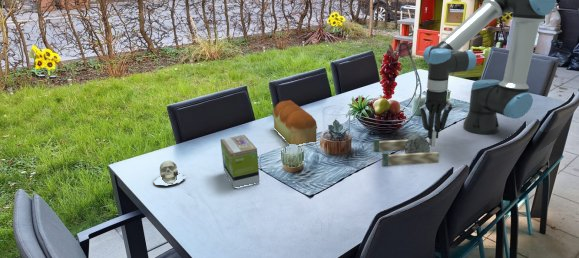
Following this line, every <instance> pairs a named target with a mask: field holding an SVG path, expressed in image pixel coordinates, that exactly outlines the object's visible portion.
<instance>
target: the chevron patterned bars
mask: <svg viewBox="0 0 579 258" xmlns="http://www.w3.org/2000/svg"><path fill="white" fill-rule="evenodd" d="M407 141H408V139H397V140H391V139H390V140H380V139H379V138H373V145H372V150H373V152H375V153H377V152H382V153H381V155H382V157H381V165H382V167H388V166H402V165H403V166H404V165H422V164H435V163H436V164H437V163H439V159H440V152H439V151H430V152H425V153H408V154H405V153H392V154H389V152H391V151H405V144H406V142H407Z"/></svg>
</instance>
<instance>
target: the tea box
mask: <svg viewBox="0 0 579 258" xmlns="http://www.w3.org/2000/svg"><path fill="white" fill-rule="evenodd" d="M220 147H221V155H222V165H223V172H224V171H225V173H226V175H227V176H226V175H225V176H226V178H227V177H228V178H229V179H228V178H227V179H228V181H229V180H230V181H229V182H231V183H232V184H231V183H230V184H231V186H232V185H233V186H234V187H240V186H244V185H249V184H254V183H259V182H260V181H261V180H260V171H259V170H260V169H259V159H258V158H259V157H258V148H257V147H256V145H255V144H253V142H252V140H251V141H250V139H249V138H248V137H247V136H246V135H245V134H240V135H237V136H231V137H226V138H221V139H220ZM225 173H224V174H225ZM259 184H260V183H259ZM233 186H232V187H233ZM234 187H233V188H234Z"/></svg>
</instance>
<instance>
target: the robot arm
mask: <svg viewBox="0 0 579 258" xmlns="http://www.w3.org/2000/svg"><path fill="white" fill-rule="evenodd" d="M556 3H557V0H483V1H482V4H481V6H480V7H479V8H477V9H476V10H475V11H474V12H473V13H471V14H470V16H469V17H467V18H466V19H465V20H464V21H463V22H461V23H460V24H459V25H458V26H457V27H456V28H454V29H453V30H452V31H451V32H450V33H449V34H448V35H447V36H446V37H445V38H443V39H442V40H441V41H440V42H439V43H438V44H436V45H428V47H426V48H425V49H424V51H423V56H422V57H423V60H424V61H425V63H426V64H428V68H427V69H428V70H427V81H426V88H427V89H426V94H425V95H426V97H425V102H424V104H423V105H422V106H418V110H419V112H420V116H421V121H422V127H423V129H424V130H425V131H427V138H428V139H429V140H428V142H429V147H430V148H435V147H436V144H437V143H436V141H437V139H439V133H440V132H441V130H445V126H446V123H447V120H448V118H449V115H450V113H451V111H452V110H453V106H451V105H450V104H448V102H447V97H448V96H447V95H448V91H447V90H448V87H449V78H450V74H454V73H460V72H467V71H472V70H473V69H474V68H475V67H476V65H477V60H478V59H477V55H476V54H475V53H474V52H473V51H471V50H464V51H460V50H461V49H462V48H463V47H464V46H465V45H466V44H467V43H468V42H470V41H471V40H472V39H473V38H474V37H475V36H477V34H479V33H480V32H481V31H482V30H484V28H485V27H487V26H488V25H490V23H492V21H493V20H495V19H499V18H501V17H502V16H503V15H504V14H508V13H512V15H511V16H512V17H511V18H512V20H513V21H514V27H513V31H512V35H511V41H510V45H509V49H508V50H509V51H508V55H507V59H506V64H505V70H504V75H503V80H498V79H479V80H475V81H473V82H472V85H471V89H470V99H469V109H468V113H467V115H466V116H465V119H464V121H463V125H462V127H463V130H465V131H467V132H469V133H473V134H477V135H493V134H496V133H498V132H499V129H500V124H499V121H498V116H497V114H499V115H503V117H507V118H511V119H520V118H522V117H523V116H525V115H526V114H528V112H529V111H530V110H531V108H532V105H533V102H534V101H533V100H534V98H533V96H532V95H531V93H530V92H529V89H530V86H529V85H528V84H527V80H528V75H529V71H530V66H531V63H532V58H533V54H534V49H535V46H536V44H535V43H536V40H537V35H538V32H539V26H540V24H541V23H542V22H544V21H545V19H546V16H547V15H549V14H551V13H552V11H553V10H554V9H555V6H556V5H557V4H556ZM427 111H428V118H427Z"/></svg>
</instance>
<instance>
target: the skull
mask: <svg viewBox="0 0 579 258" xmlns="http://www.w3.org/2000/svg"><path fill="white" fill-rule="evenodd" d="M178 173H179V172H178V167H177V164H176V162H174V161H172V160H165V161H163V162H161V164H160V166H159V175H160V176H161V177H162V180H163V181H164V182H165V183H167V184H173V183H174V182H175V181H176V180H177V175H178Z"/></svg>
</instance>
